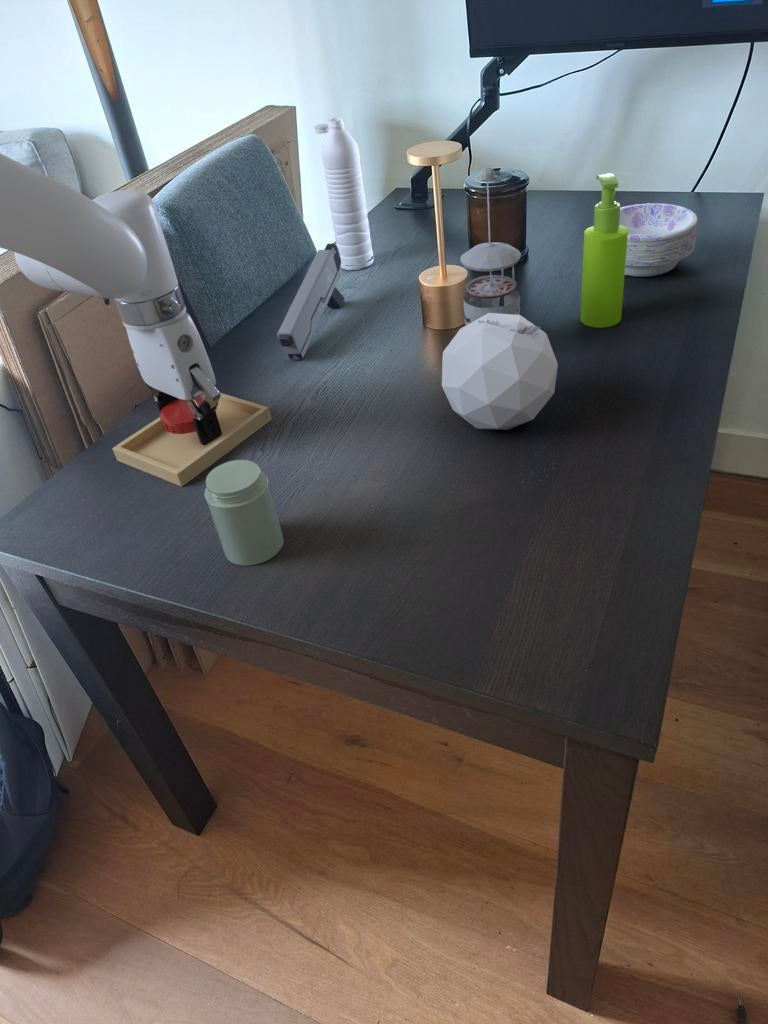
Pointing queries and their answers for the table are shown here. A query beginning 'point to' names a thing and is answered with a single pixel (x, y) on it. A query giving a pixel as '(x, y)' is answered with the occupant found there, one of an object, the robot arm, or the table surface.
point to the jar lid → (179, 416)
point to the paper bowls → (657, 237)
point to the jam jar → (243, 512)
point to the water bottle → (346, 195)
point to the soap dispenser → (604, 261)
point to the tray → (191, 442)
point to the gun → (311, 302)
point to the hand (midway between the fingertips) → (193, 430)
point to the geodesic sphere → (499, 371)
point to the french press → (491, 286)
